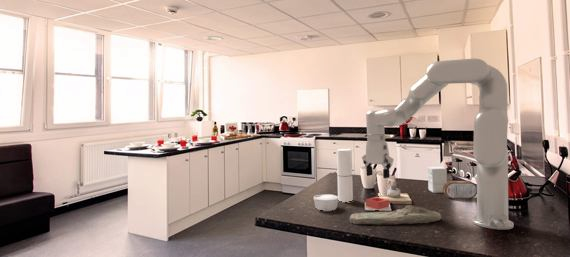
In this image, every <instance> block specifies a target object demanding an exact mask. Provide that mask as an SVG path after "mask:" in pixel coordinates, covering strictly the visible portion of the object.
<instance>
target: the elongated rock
mask: <svg viewBox="0 0 570 257" xmlns="http://www.w3.org/2000/svg"><path fill="white" fill-rule="evenodd" d="M441 219H442V216H441V213H440V212H438V211H434V210H429V209H427V208H425V207H420V206H414V205H412V204H407V205H405V207H403V208H398V209H396V210H393V211H392V210H391V211H375V212H374V211H373V212H372V211H371V212H354V213H352V214H351V215H350V216H349V223H350V224H352V223H353V225H379V226H380V225H401V224H402V225H403V224H408V225H409V224H410V225H412V224H414V225H415V224H430V223H433V222H437V221H441Z"/></svg>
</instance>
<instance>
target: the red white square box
mask: <svg viewBox="0 0 570 257" xmlns="http://www.w3.org/2000/svg"><path fill="white" fill-rule="evenodd" d="M365 202H366V206H368V207H372V208H375V209H381V208H385V207H389V204H390V203H389V200H387V199H384V198H380V197H378V196H373V197H371V198H370V197H369V198H366V199H365Z"/></svg>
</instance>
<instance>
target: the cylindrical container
mask: <svg viewBox="0 0 570 257" xmlns="http://www.w3.org/2000/svg"><path fill="white" fill-rule="evenodd" d="M352 152H353V150H352V149H350V148H340V149H336V166H337V167H336V168H337V169H336V171H337V173H336V174H337V176H336V177H337V196H338V200H339V201H342V202H341V203H345V202H347V203H350V202H349V201H352V200H353V201H354V194H353V193H354V192H353V190H354V188H353V156H352V155H353V154H352ZM339 201H338V202H339ZM353 201H352V202H353Z"/></svg>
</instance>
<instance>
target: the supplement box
mask: <svg viewBox="0 0 570 257" xmlns="http://www.w3.org/2000/svg"><path fill="white" fill-rule="evenodd" d="M427 181H428V182H427V183H428V184H427V185H428V188H427V189H428V191H430V192H431V193H433V194H434V193H439V194H444V192H443V187H444V185H445V184H446V183H447V182H448V170H447V168H446V167H443V166H427Z"/></svg>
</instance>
